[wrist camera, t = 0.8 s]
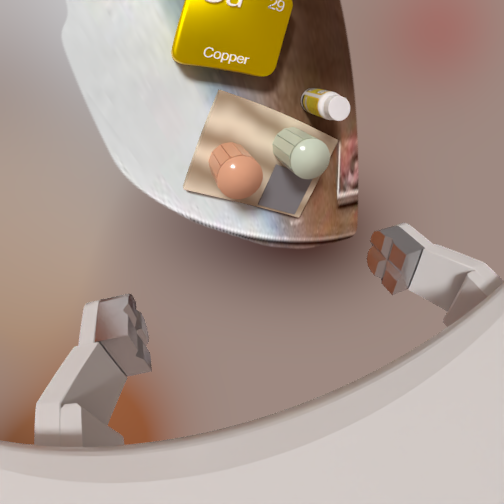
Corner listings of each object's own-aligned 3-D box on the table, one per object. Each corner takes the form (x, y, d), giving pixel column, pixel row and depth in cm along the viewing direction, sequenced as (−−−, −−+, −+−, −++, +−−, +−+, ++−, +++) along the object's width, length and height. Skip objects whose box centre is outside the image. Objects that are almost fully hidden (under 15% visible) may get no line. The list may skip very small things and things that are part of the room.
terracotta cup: (217, 137, 40) (227, 150, 34) (253, 149, 43) (269, 164, 37) (203, 174, 43) (211, 193, 37) (239, 183, 46) (252, 203, 40)
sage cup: (282, 121, 41) (303, 132, 36) (313, 135, 44) (336, 148, 39) (266, 156, 44) (284, 172, 39) (297, 167, 47) (318, 184, 42)
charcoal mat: (276, 164, 46) (276, 164, 45) (312, 177, 49) (313, 178, 49) (257, 204, 49) (258, 204, 49) (294, 213, 53) (294, 214, 53)
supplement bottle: (313, 118, 44) (340, 129, 37) (294, 102, 41) (319, 110, 35) (329, 98, 42) (357, 107, 36) (311, 82, 39) (338, 87, 33)
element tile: (168, 63, 32) (169, 61, 29) (191, -21, 24) (195, -31, 20) (263, 78, 38) (274, 79, 34) (284, 1, 29) (298, -5, 26)
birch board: (218, 89, 37) (220, 90, 36) (334, 138, 47) (338, 140, 46) (183, 185, 45) (183, 189, 44) (295, 213, 55) (299, 217, 54)
